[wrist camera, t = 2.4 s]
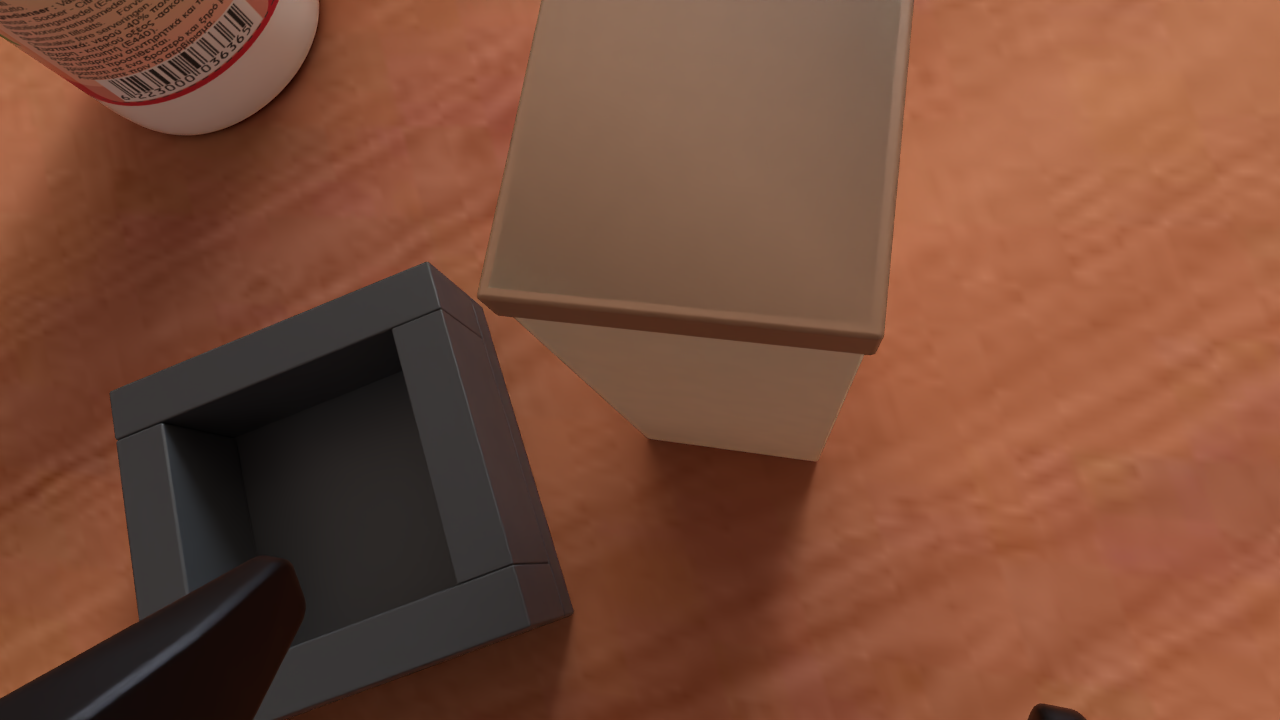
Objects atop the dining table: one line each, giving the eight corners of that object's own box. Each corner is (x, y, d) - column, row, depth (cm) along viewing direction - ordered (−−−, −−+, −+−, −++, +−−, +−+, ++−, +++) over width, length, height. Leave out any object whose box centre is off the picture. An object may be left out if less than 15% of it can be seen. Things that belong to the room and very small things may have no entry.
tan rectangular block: (821, 466, 21) (884, 340, 9) (642, 441, 22) (473, 297, 10) (839, 293, 22) (917, -34, 10) (669, 277, 23) (546, -35, 11)
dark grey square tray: (575, 613, 21) (531, 626, 18) (262, 727, 22) (155, 763, 18) (482, 306, 24) (427, 259, 20) (209, 416, 25) (108, 391, 21)
